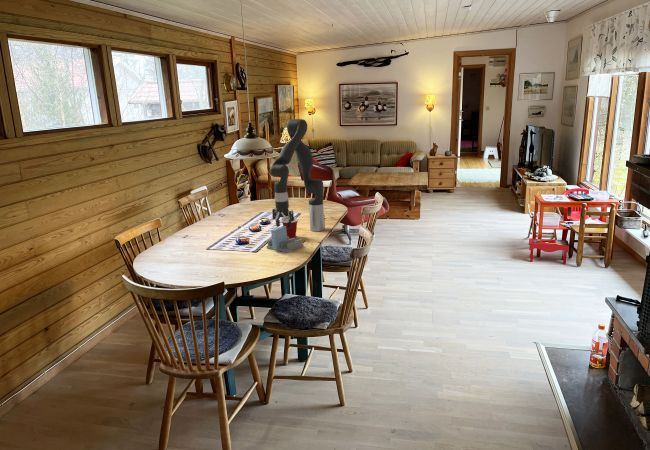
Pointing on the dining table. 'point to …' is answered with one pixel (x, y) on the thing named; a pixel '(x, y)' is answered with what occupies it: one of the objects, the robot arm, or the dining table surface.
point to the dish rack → (287, 245)
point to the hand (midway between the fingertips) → (283, 227)
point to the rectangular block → (278, 236)
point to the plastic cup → (291, 231)
